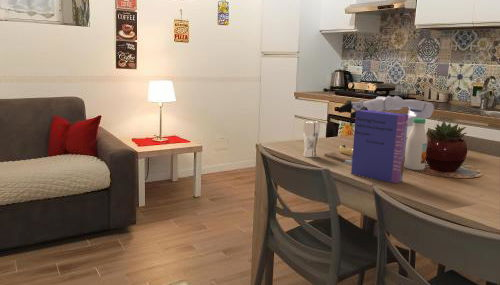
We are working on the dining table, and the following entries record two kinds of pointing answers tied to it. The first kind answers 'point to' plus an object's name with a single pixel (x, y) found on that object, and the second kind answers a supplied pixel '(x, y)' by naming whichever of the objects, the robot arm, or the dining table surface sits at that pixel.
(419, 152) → the milk bottle
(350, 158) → the door and jamb
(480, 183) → the dining table surface
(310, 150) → the beer glass
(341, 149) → the swing bar
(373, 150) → the purple book
